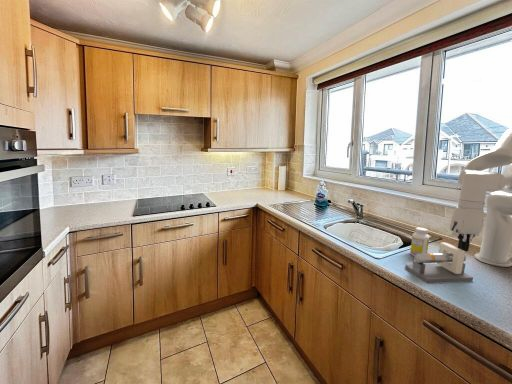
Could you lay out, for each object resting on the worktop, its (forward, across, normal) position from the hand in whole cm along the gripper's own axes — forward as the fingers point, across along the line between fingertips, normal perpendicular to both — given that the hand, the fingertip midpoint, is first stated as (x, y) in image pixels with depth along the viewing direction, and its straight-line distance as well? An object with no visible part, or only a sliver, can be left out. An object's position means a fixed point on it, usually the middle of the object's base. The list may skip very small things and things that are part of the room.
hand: (462, 250), depth 105 cm
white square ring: (+8, +5, 0) cm, 9 cm away
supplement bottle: (+10, +4, -18) cm, 21 cm away
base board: (+10, +9, 0) cm, 14 cm away
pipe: (+9, +9, 0) cm, 13 cm away
